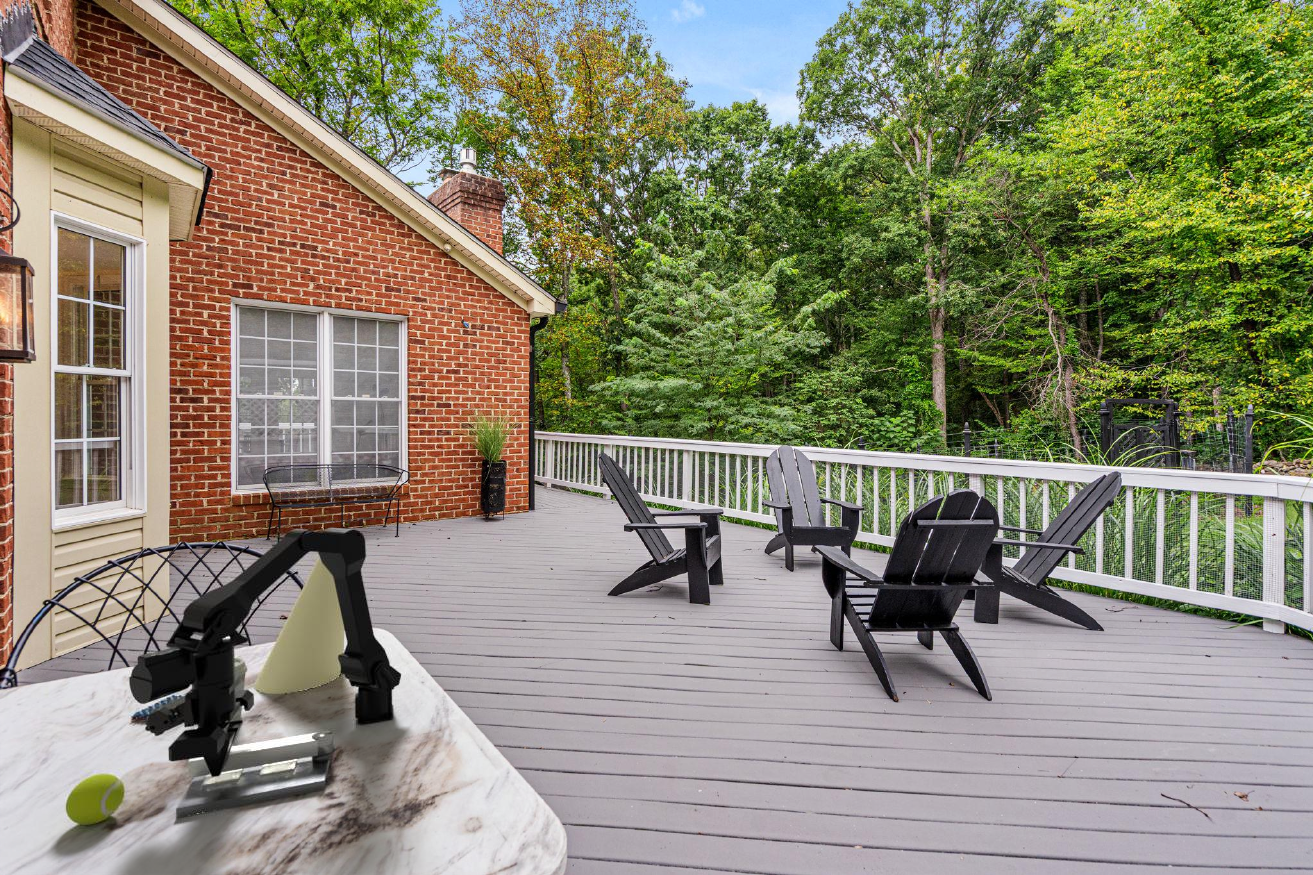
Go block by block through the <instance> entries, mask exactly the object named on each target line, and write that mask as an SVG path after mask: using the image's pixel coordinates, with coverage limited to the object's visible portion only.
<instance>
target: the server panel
mask: <svg viewBox="0 0 1313 875" xmlns="http://www.w3.org/2000/svg"><path fill="white" fill-rule="evenodd" d="M333 750H334V749H333ZM333 750H332V751H331V752H329V753H327V754H325V755H319V756H313V757H307V758H301V759H296V760H290V761H284V762H279V763H273V764H267V765H262V766H256V767H251V768H245V769H239V770H234V771H228V772H222V773H221V774H220V776H216V777H212V776H211V775H205V776H200V777H194V778H192V780H191V782H190V784H188V787H187V788H186V791H185V793H184V794H183V795H182V798H181V799H180V801H179V803H178V804H177V806H176V807H175V814H176V815H175V818H176V819H179V817H181V818H186V817H189V816H188V815H191V816H194V815H193V814H196V815H198V814H197V813H201V814H203V813H202V812H207V813H210V811H212V812H214V811H213V810H217V811H220V810H219V809H222V810H224V809H223V808H227V809H230V808H236V807H241V806H248V805H252V804H256V803H263V802H267V801H273V800H277V799H283V798H288V797H292V796H297V795H298V796H299V795H303V794H308V793H314V792H319V791H323V790H325V789H326V786H327V785H326V784H327V778H328V775H329V768H330V764H331V763H330V762H331V759H333V756H334V752H333Z"/></svg>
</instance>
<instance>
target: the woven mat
mask: <svg viewBox="0 0 1313 875" xmlns="http://www.w3.org/2000/svg"><path fill="white" fill-rule="evenodd" d="M183 696H184V695H181V694H179V695H175V694H171V695H170V696H166V698H164V699H161V700H160V701H157V702H155V703H154V704H152V705H149V706H147V707H144V708H143V709H141V710H138V711H136V712H135V713H134V714H133V715H132V716H131V718H130V719H131V721H132V722H135V723H136V722H139V723H141V722H142V723H143V722H145V721H146V720H147V717H148V715H149V714H150V713H151V712H152V711H153V710H156V709H157V708H159V707H160V706H162V705H165V704H167V703H169V702H172V701H174V700H176V699H179V698H181V697H183ZM145 723H146V722H145Z"/></svg>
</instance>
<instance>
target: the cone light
mask: <svg viewBox="0 0 1313 875" xmlns="http://www.w3.org/2000/svg"><path fill="white" fill-rule="evenodd" d="M344 651H345V629H344V625H343V620H342V615H341V611H340V606H339V601H338V597H337V592H336V587H335V582H334V578H333V576H332V574H331V573H330V572H329V571H328V569H327V568H326V567H325V566H324V565H323V563H322V561H321V559H320V556H319V555H318V558H317V559H316V562H315V564H314V566H312V569H311V572H310V574H309V576H308V577H307V579H306V581H305V583H304V586H303V587H302V589H301V591H300V593H299V596H298V597H297V599H296V601H295V603H294V605H293V608H292V610H291V612H289V615H288V617H287V619H286V621H285V623H284V625H283V627H282V629H281V631H280V633H279V636H278V637H277V639H276V641H275V643H274V644H273V647H272V649H271V650H270V653H269V655H268V656H267V659H266V661H265V662H264V665H263V667H262V669H261V671H260V672H259V674H258V677H257V679H256V681H255V683H254V685H253V688H254V690H255V689H256V690H255V691H257V690H258V691H259V693H262V692H263V693H262V694H269V695H285V693H287V694H291V693H290V692H295V693H298V692H297V691H300V690H305V689H308V688H313V687H316V686H319V685H323V684H325V683H328V682H330V681H332V680H333V679H335V678H337V677H338V676H339V675H340V671H341V666H340V662H339V660H338V655H340V654H343V653H344ZM337 679H338V678H337ZM332 682H333V681H332ZM330 683H331V682H330ZM328 684H329V683H328ZM323 686H324V685H323ZM258 691H257V692H258Z"/></svg>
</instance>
